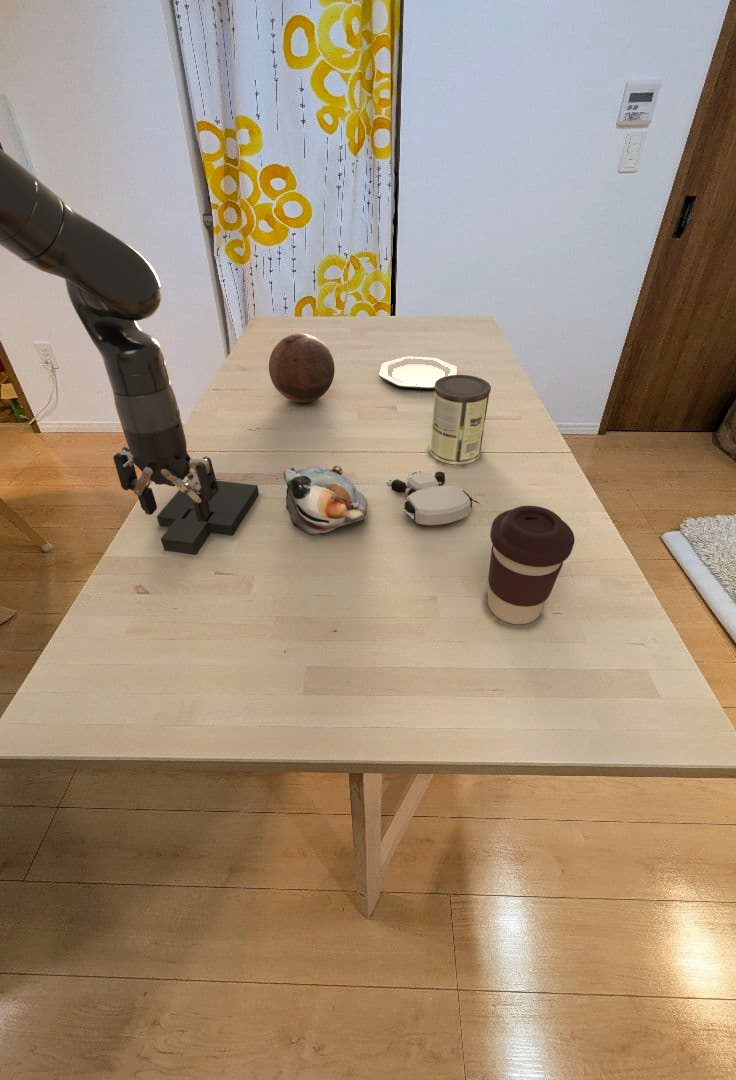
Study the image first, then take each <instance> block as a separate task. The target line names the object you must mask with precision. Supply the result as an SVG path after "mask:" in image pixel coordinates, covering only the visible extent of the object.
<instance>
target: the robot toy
mask: <svg viewBox="0 0 736 1080" xmlns="http://www.w3.org/2000/svg"><path fill="white" fill-rule="evenodd" d="M445 483H446V473H445V471H444V470H436V471H435V472H434V474H433V473H432V472H427V471H424V470H419V471H418V472H416V471H415V472H409V473H408V477H407V478H406V482H405V481H402V480H401V479H398V478H397V479H396V478H395V479H393V478H391V479H388V480H386V483H385V484H386V486H387V487H390V488H391V491H393V492H395V493H397V494H407V495H408V496H407V498H406V501H405V502H404V505H403V506H404V507H403V510H402V512H403V514H404V515H406V516H407V517H408V518H409V519H410V520H411V521H414V522H415V523H416V524H418V525H423V526H439V525H440V526H441V525H448V524H452V523H454V522H457V521H459V520H462V519H465V518H466V517H467V516H468V515H469V514H470V513H471V509H472V507H473V502H475V503H476V504H478V505H479V506H483V503H482V502H481V501H479V500H477V499H475V498H473V496H470V495H469V494H468V492H466V490H463V489H462V488H461V487H459V486H455V485H454V486H453V485H445Z"/></svg>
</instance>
